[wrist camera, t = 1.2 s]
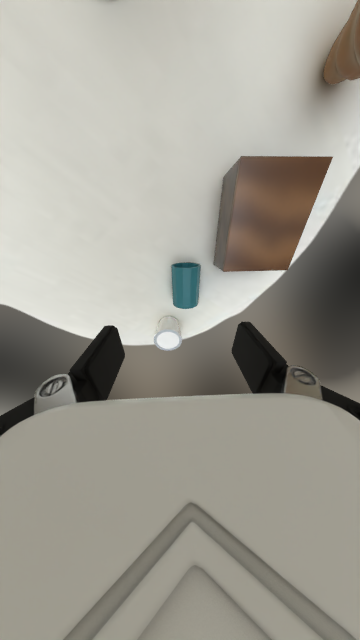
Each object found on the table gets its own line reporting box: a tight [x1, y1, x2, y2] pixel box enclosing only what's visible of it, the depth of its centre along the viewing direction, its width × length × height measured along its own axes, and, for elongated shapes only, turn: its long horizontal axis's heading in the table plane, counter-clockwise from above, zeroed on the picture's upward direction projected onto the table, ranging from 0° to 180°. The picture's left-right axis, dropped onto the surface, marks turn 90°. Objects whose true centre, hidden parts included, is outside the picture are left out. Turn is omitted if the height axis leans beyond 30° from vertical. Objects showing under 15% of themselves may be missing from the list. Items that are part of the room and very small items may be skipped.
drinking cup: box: [172, 263, 200, 309], centre depth 30 cm, size 8×6×6 cm
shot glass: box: [154, 316, 182, 351], centre depth 36 cm, size 7×7×7 cm
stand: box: [214, 156, 333, 272], centre depth 24 cm, size 14×12×7 cm
